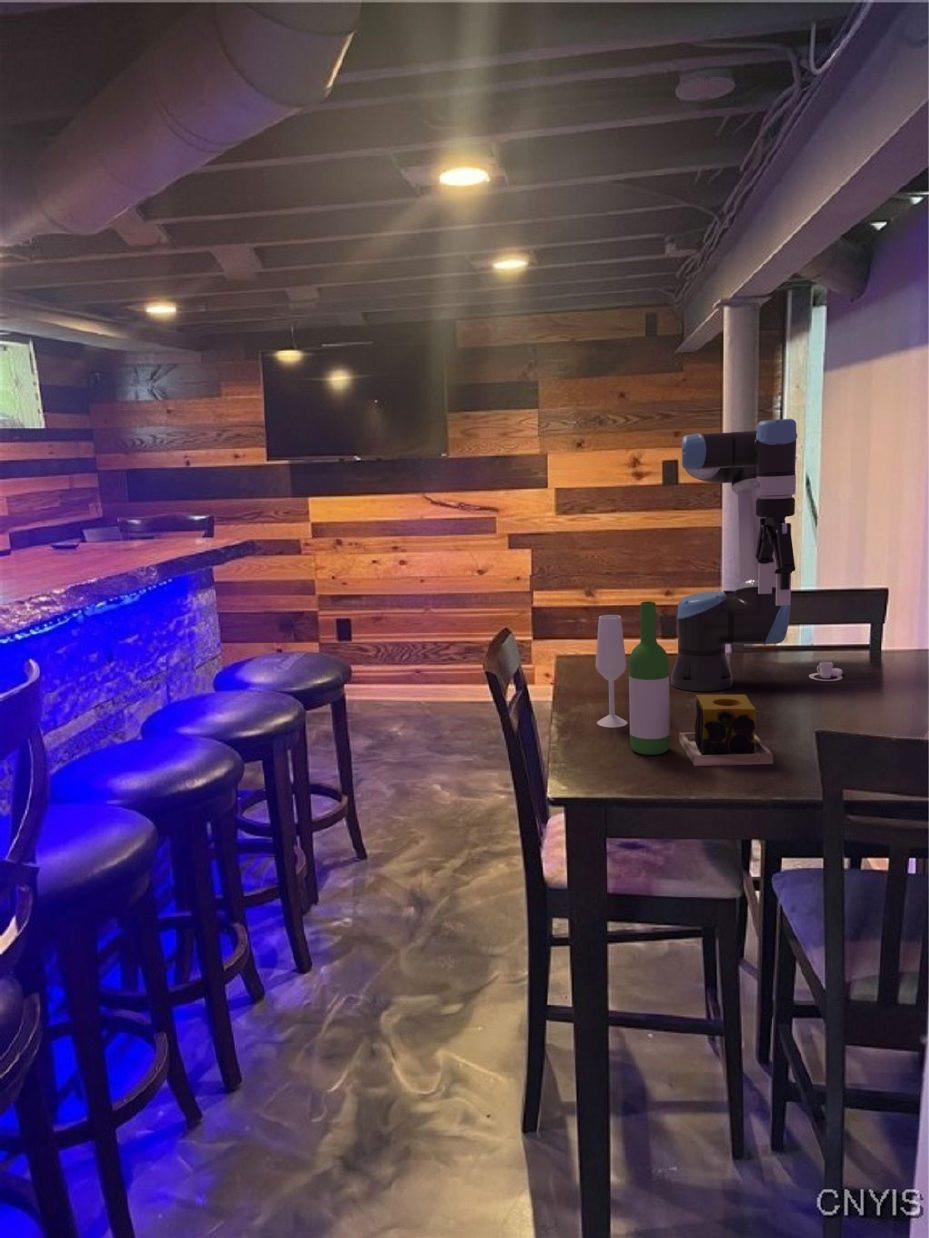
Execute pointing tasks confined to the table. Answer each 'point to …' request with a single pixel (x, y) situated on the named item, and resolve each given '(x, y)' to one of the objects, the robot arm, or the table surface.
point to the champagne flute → (610, 661)
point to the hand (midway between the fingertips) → (773, 599)
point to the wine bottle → (649, 689)
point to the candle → (724, 725)
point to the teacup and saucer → (827, 671)
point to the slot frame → (697, 759)
